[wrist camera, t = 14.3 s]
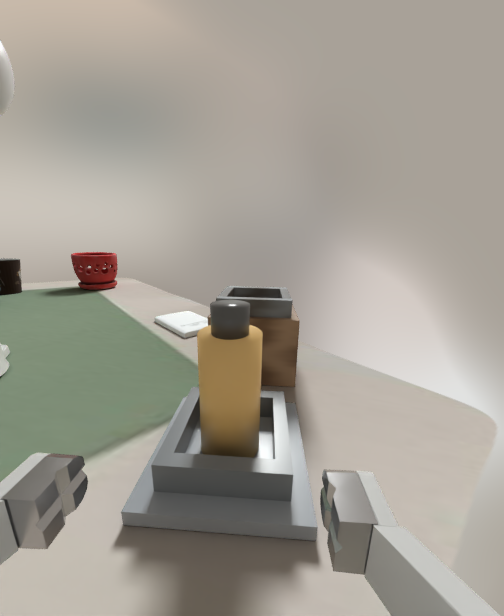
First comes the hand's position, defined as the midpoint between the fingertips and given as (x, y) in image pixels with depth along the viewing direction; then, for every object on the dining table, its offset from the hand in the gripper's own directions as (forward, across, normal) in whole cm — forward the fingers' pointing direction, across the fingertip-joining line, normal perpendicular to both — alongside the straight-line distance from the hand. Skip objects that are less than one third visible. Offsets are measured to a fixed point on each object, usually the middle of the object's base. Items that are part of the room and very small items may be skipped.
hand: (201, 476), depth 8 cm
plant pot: (+77, +56, +8) cm, 95 cm away
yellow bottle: (+9, 0, +7) cm, 12 cm away
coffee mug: (+63, +76, +8) cm, 99 cm away
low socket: (+9, 0, +8) cm, 12 cm away
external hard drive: (+40, +13, +9) cm, 43 cm away
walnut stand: (+24, -1, +8) cm, 26 cm away
